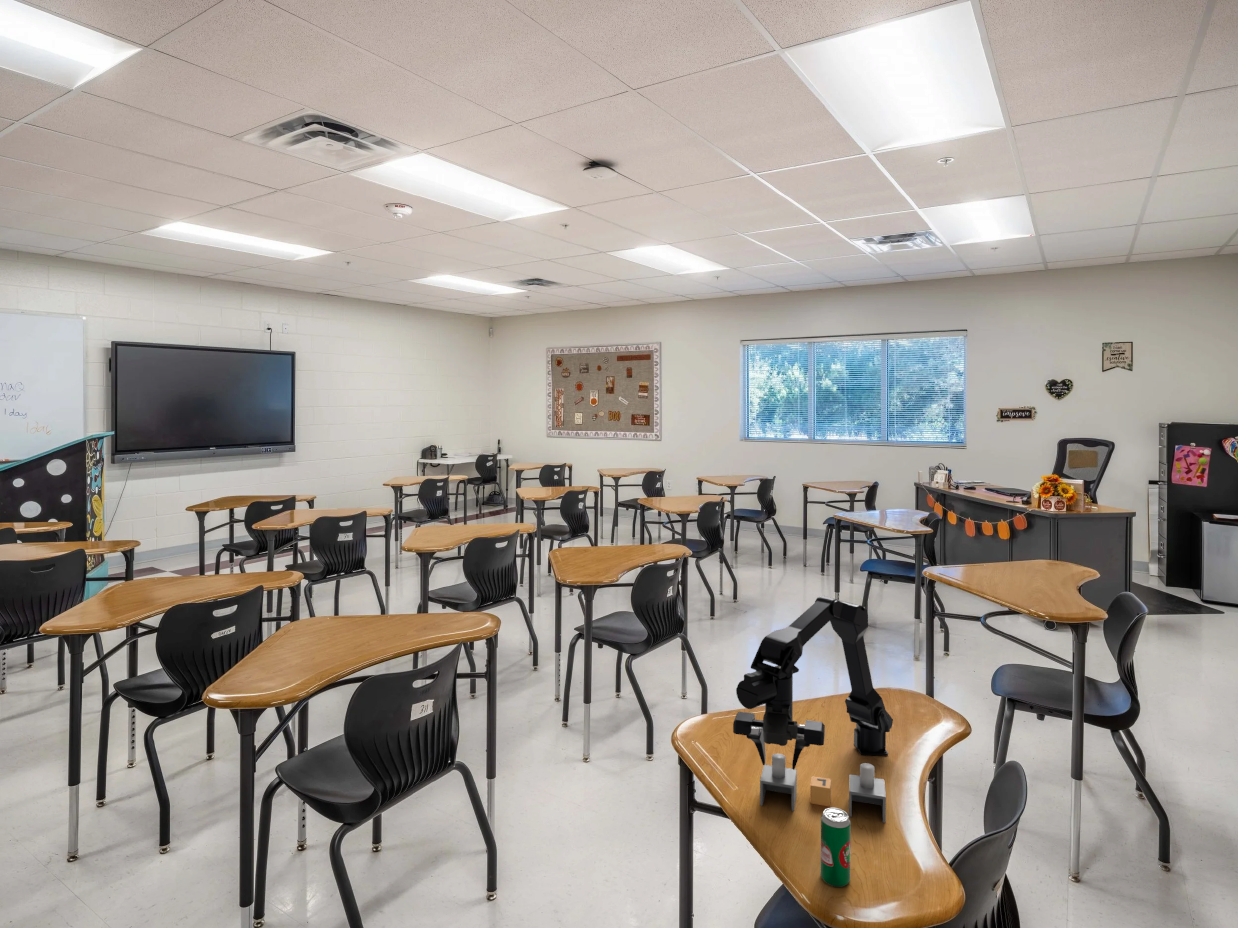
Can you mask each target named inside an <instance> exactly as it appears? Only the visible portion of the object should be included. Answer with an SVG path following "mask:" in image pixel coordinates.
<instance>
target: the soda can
mask: <svg viewBox="0 0 1238 928" xmlns="http://www.w3.org/2000/svg"><path fill="white" fill-rule="evenodd" d="M851 823H852V821H851V819H850V817H849V813H847V812H846V811H845V810H843V809H841V808H838V807H827V808H825V809H824V810H823V811H822V815H821V816H820V877H821V878H822V880H823V881H824V882H825V884H826V885H827V884H828V886H831V887H834V888H844V887H845V886H846V885H848V884H849V883H850V881H851V856H852V855H851V843H852V841H851V837H852V835H851V834H852V831H851V830H852V825H851Z"/></svg>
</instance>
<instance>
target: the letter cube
mask: <svg viewBox="0 0 1238 928" xmlns="http://www.w3.org/2000/svg"><path fill="white" fill-rule="evenodd" d="M809 790H810V791H809V792H810V797H809V799H810V803H809V804H814V805H818V806H819V805H820V806H825V807H831V799H832V778H828V777H827V778H826V777H820V776H813V775H812V776H811V780H810V789H809Z"/></svg>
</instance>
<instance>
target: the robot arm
mask: <svg viewBox="0 0 1238 928" xmlns="http://www.w3.org/2000/svg"><path fill="white" fill-rule="evenodd" d="M868 618H869V614H868V611H867V609H866V607H865V606H863V605H861V604H856V603H851V602H847V601H843V600H839V599H837V598H833V597H829V596H825V595H822V596H821V595H820V596H818V597H817V598H816V599H815V600H814V603H813V604H811V606H809V608H807V609H806V610H805V611H804V612H803V613H802V614H801V615H799V617H797V618H796V619H795V620H794V621H792V623H791V624H789V625H788V626H787V627H785V628H780V629H776V630H773V631H772V632H770V633H768V634H767V635H765V636H764V637H763V638H762V640H761V641H760V644H759V646H758V649H757V650H756V651H757V652H756V654H755V656H754V658H753V660H752V663H751V665H750V669H751V670H754V671H753V672H749V673H745V674H744V675H743V680H740V682H738V684H737V685H736V686H737V687H736V689H735V693H736V698H737V699H738V702H739V703H740V705H741V706H742V707H744V708H745V709H748V710H754V709H755V708H757V707H758V708H759V707H761V706H763V705H764V707H765V708H764V710H765V711H764V714H763V717H762V720H761V719H756V715H755V712H754V713H753V712H747V711H738V712H737V713H736V714H735V718H734V719H733V725H732V726H733V727H732V730H733V731H732V733H733V734H735V735H739V736H741V735H742V736H746V739H748V740H751V741H752V742H753V743H754V746H755V747H756V750H757V752H758V755H759V757H760V761H761V763H762V766H764V765H766V759H767V758H766V757H767V756H766V744H767V745H771V744H772V745H777V746H778V745H779V746H781V747H785V746H787V744H788V742H789V741H793V740H795V742H794V749H793V757H792V767H791V769H793V770H794V769H796V766H797V764H798V761H799V757H800V755H801V753H802V751H803V749H804V748H809V747H810V746H811V745H814V746H819V747H820V746H821V747H822V746H824V745H825V736H826V730H825V729H826V726H825V724H824V723H823V721H815V720H808V719H805V723H804V724H798V721H797V720H796V721H795V720H794V719H793V711H794V710H793V709H794V707H793V706H794V705H793V700H794V699H793V695H794V694H793V692H794V691H793V690H794V689H793V686H794V685H793V683H794V680H793V679H794V678H793V675H794V674H796V673H798V672H800V669H799V668H798V666H796V663H797V662H798V661H799V659H800V658H801V657H802V656H803V650H804V649H803V648H804V646H805V645H806V644H807V643H808V642H809V641H810V640H811V639H812V638H813V637H814V636H815V635H816V634H817V633H818V632H819V631H820V630H822V628H824V627H825V626H826V625H827V624H828V623H829V622H830V624H831V627H832V629H833V631H834V632H835V633H836V634H837V637H839V638H840V639H841V644H842V647H843V652H844V658H845V663H846V668H847V674H848V678H849V683H850V688H851V690H850V693H849V694H848V697H847V698H845V700H844V702H845V706H846V713H847V714H848V716H849V720H850V722H851V723H855V724H856V726H855V728H854V729H853V744H854V746H855V748H856V749H857V750H858V752H859V754H861V755H862V756H889V752H888V750H887V748H886V747H887V745H886V744H887V743H886V741H887V733H889V732H890V731H891V729H892V728H893V721H894V718H892V716H891V715H890V714H889V712H888V711H887V710H886V707H885V704H884V699H883V698H882V696H881V695H880V693H878V691H876V689H875V688H874V686H873V680H872V675H871V674H872V673H871V671H870V670H871V669H870V666H869V659H868V655H867V650H866V644H865V639H864V635H865V633H866V632H867V630H868V628H869V619H868ZM765 662H766V663H765ZM767 663H770V664H774V665H770V664H767Z"/></svg>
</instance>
